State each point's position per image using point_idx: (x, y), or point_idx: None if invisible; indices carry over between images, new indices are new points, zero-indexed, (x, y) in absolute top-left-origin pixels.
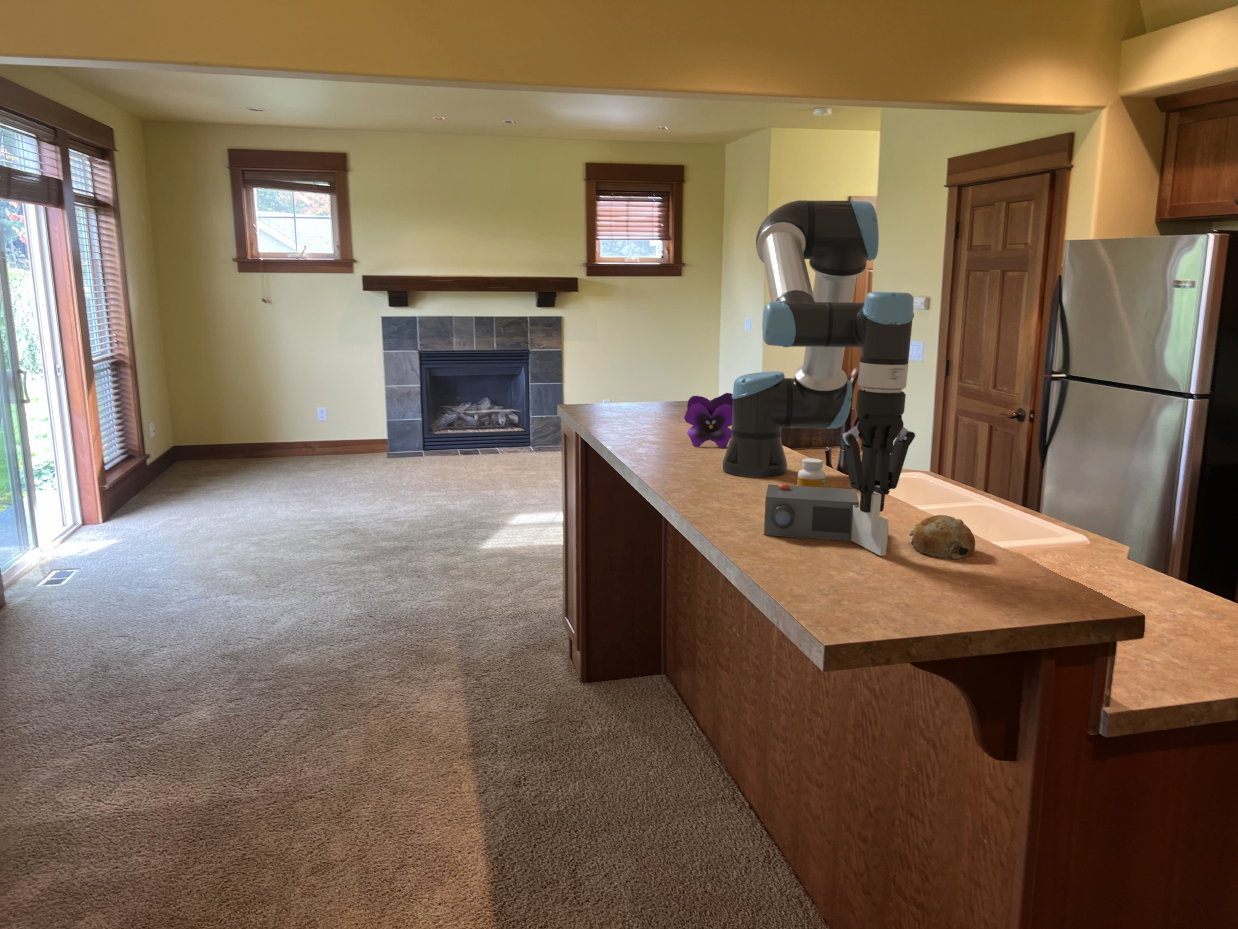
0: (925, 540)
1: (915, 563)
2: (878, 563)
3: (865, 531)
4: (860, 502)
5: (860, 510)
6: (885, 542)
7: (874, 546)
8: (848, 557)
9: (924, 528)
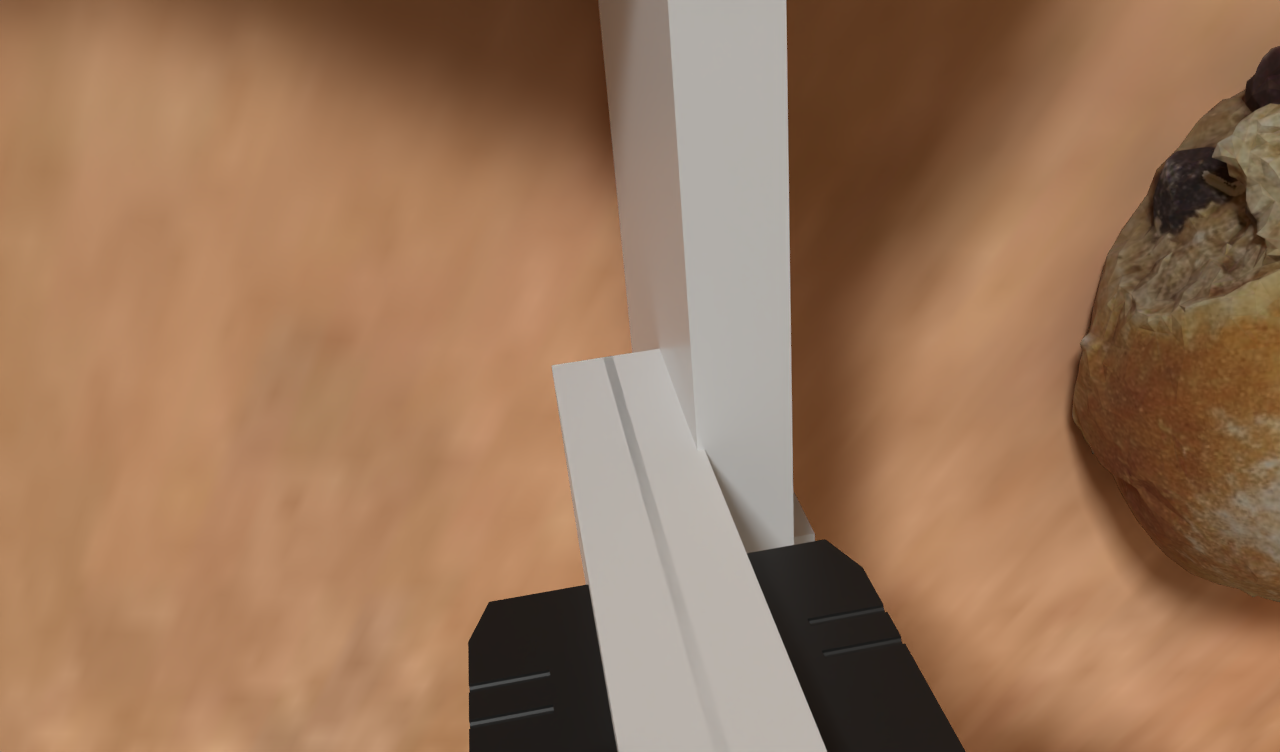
0: (1148, 491)
1: None
2: (553, 568)
3: (643, 262)
4: (473, 726)
5: (488, 607)
6: None
7: None
8: (338, 401)
9: (1270, 470)
